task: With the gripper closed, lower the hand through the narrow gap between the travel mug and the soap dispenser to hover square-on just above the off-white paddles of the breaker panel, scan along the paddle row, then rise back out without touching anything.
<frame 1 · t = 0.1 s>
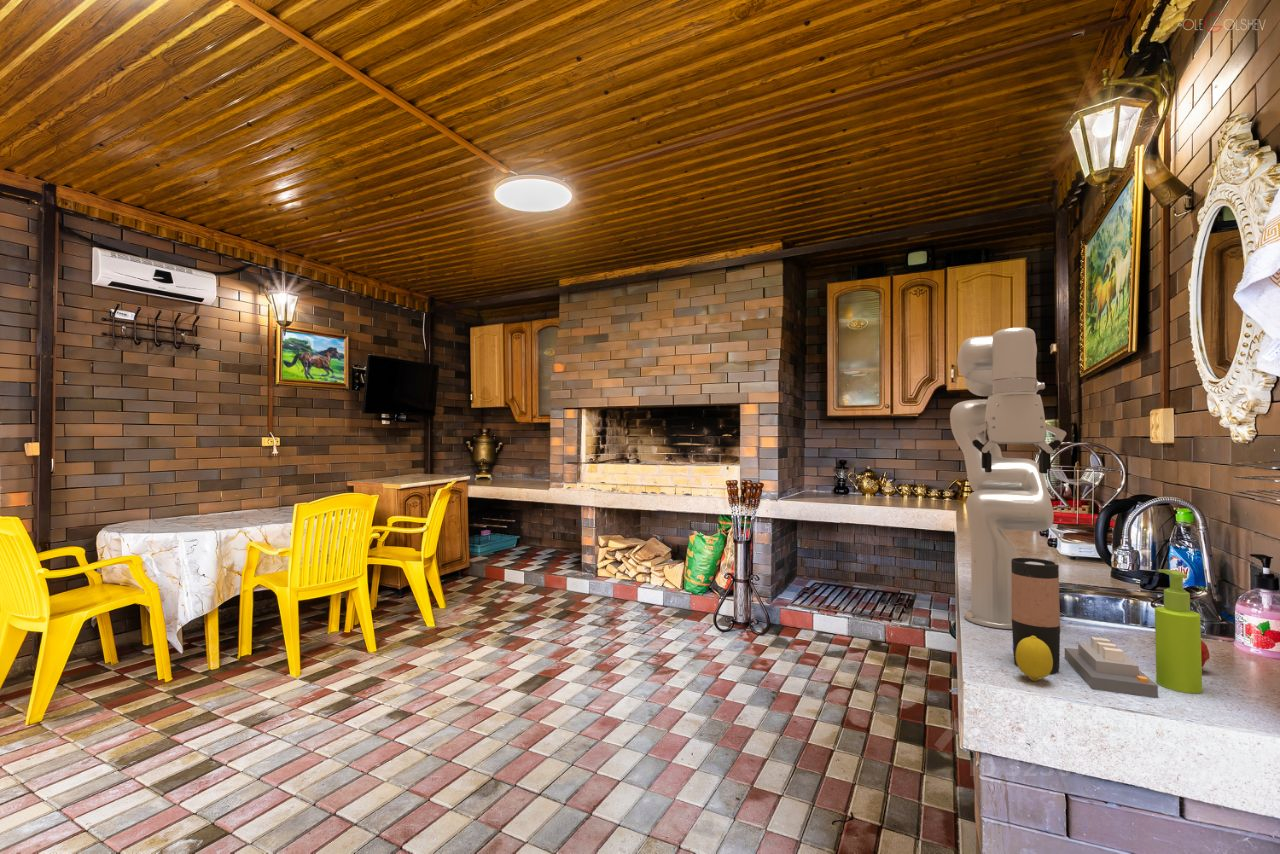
hand: (1015, 472, 117), 37 cm above the countertop, tool pointing down, fingers open, 9 cm apart
soap dispenser: (1177, 686, 101), on the countertop
breaker panel: (1107, 676, 105), on the countertop
travel mug: (1036, 668, 110), on the countertop
lemon: (1034, 682, 103), on the countertop
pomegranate: (1183, 669, 110), on the countertop
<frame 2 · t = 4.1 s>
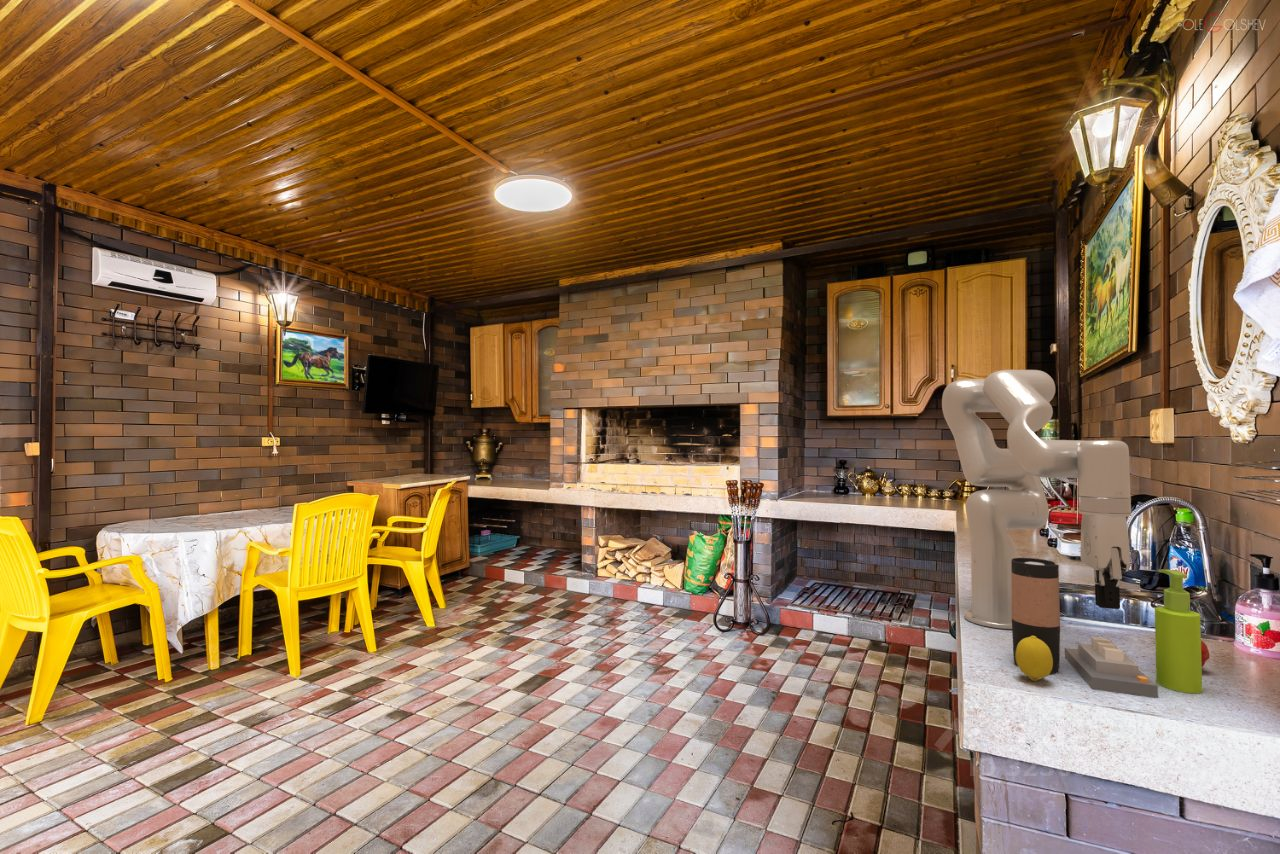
hand: (1107, 607, 105), 13 cm above the countertop, tool pointing down, fingers closed
nothing on the countertop moved.
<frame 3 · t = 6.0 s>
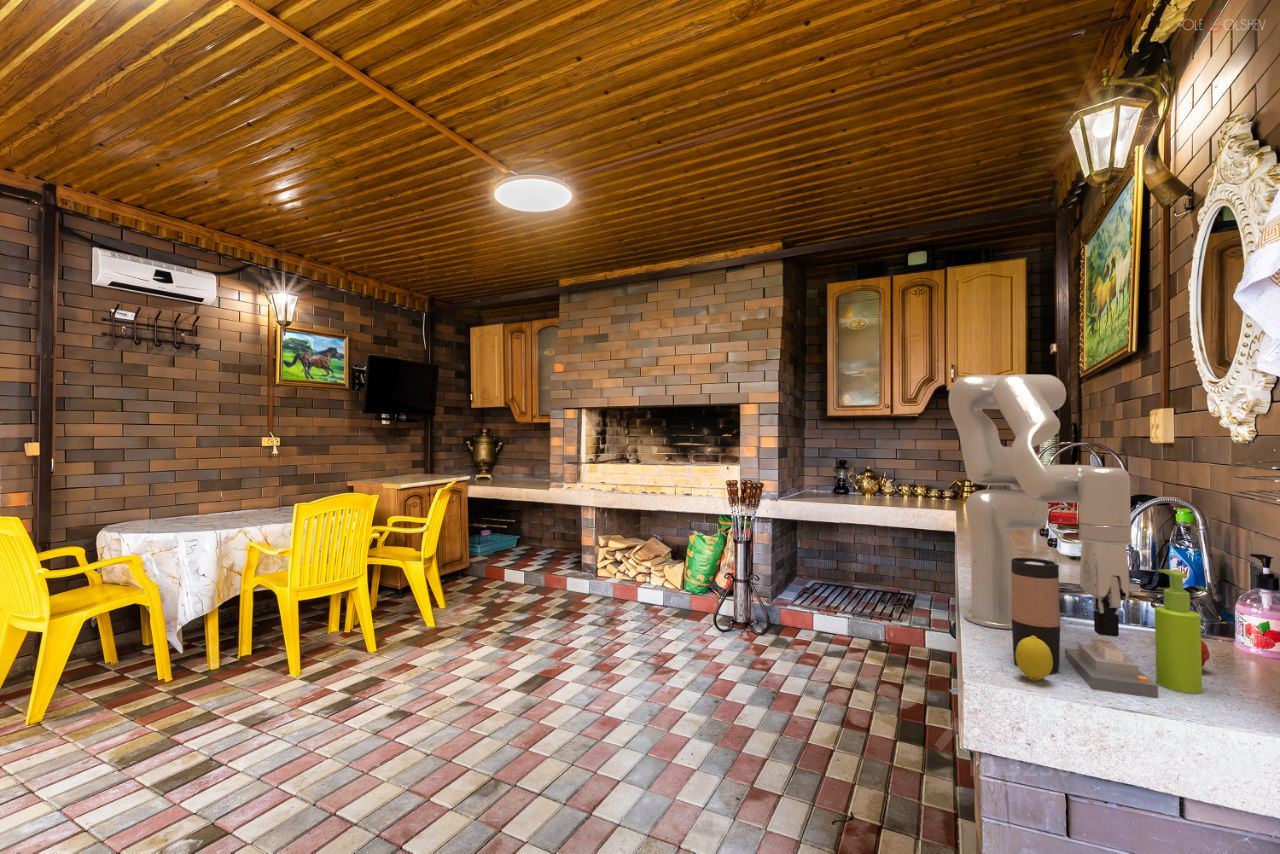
hand: (1106, 634, 106), 8 cm above the countertop, tool pointing down, fingers closed
nothing on the countertop moved.
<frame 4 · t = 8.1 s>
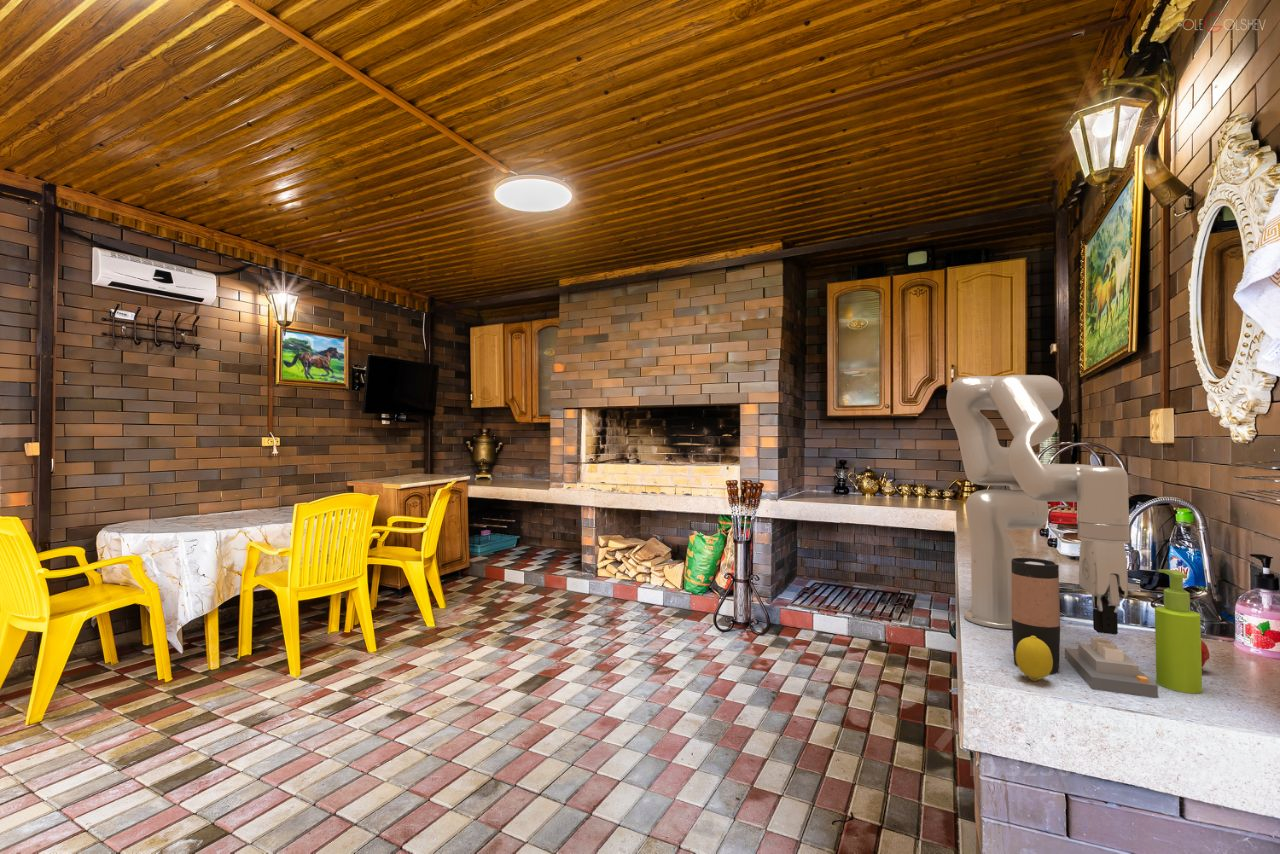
hand: (1105, 632, 106), 8 cm above the countertop, tool pointing down, fingers closed
nothing on the countertop moved.
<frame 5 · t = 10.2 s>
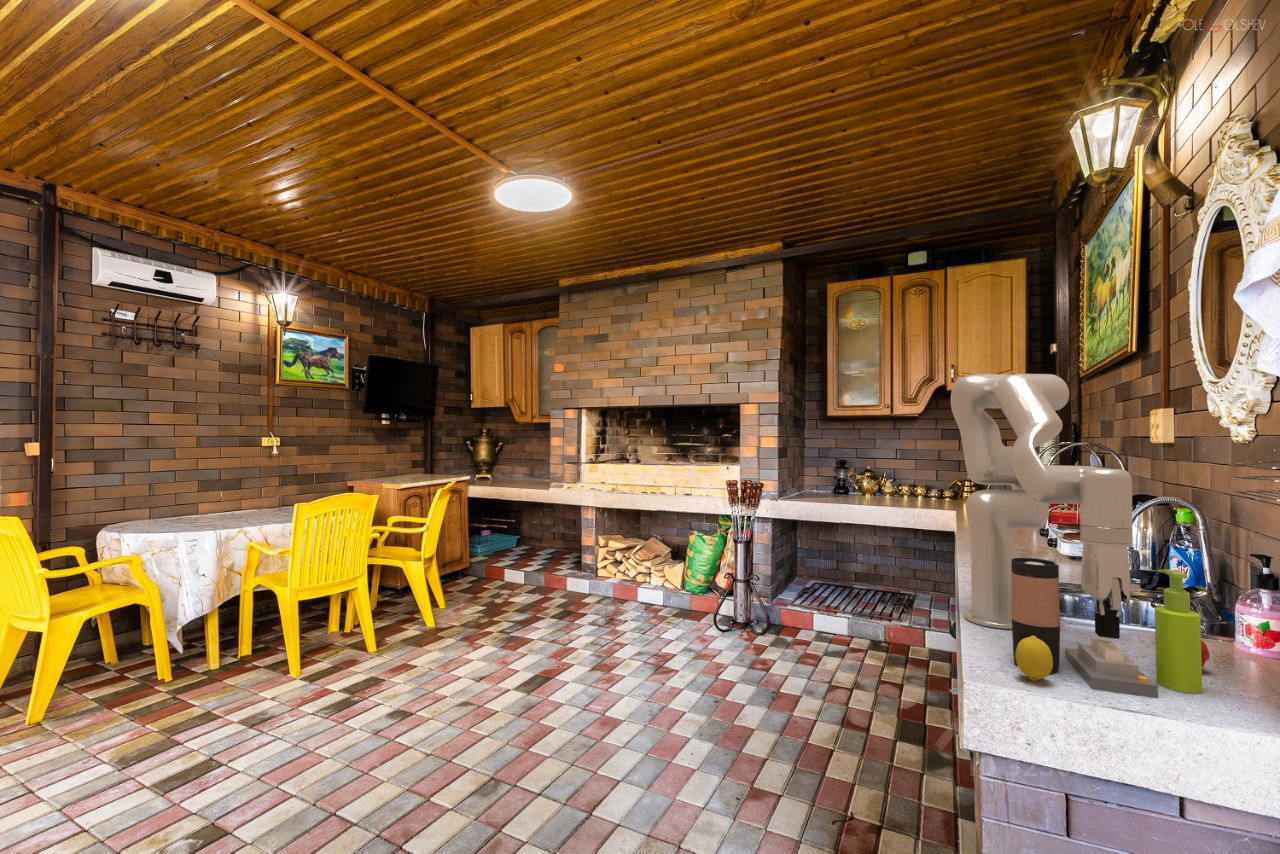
hand: (1107, 636, 105), 7 cm above the countertop, tool pointing down, fingers closed
nothing on the countertop moved.
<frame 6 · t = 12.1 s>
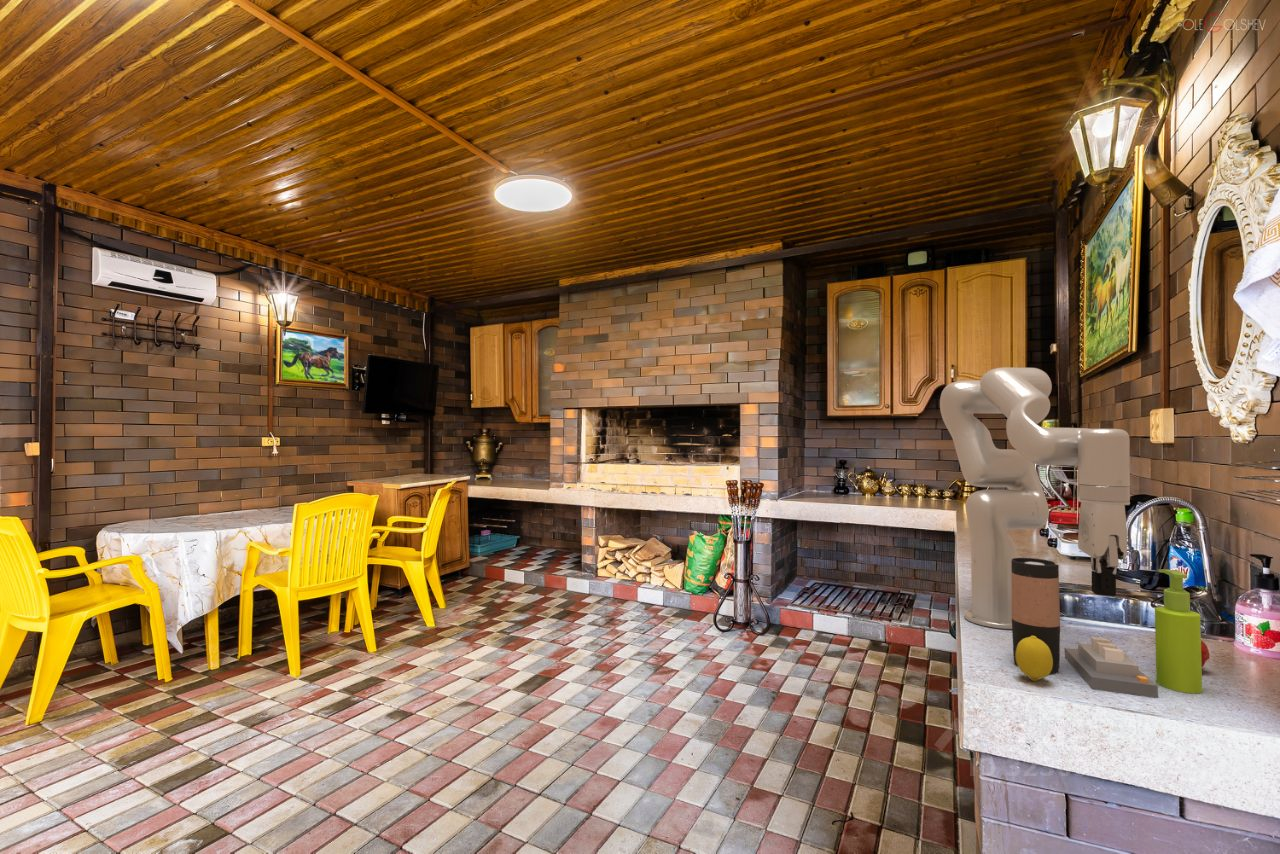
hand: (1103, 594, 106), 15 cm above the countertop, tool pointing down, fingers closed
nothing on the countertop moved.
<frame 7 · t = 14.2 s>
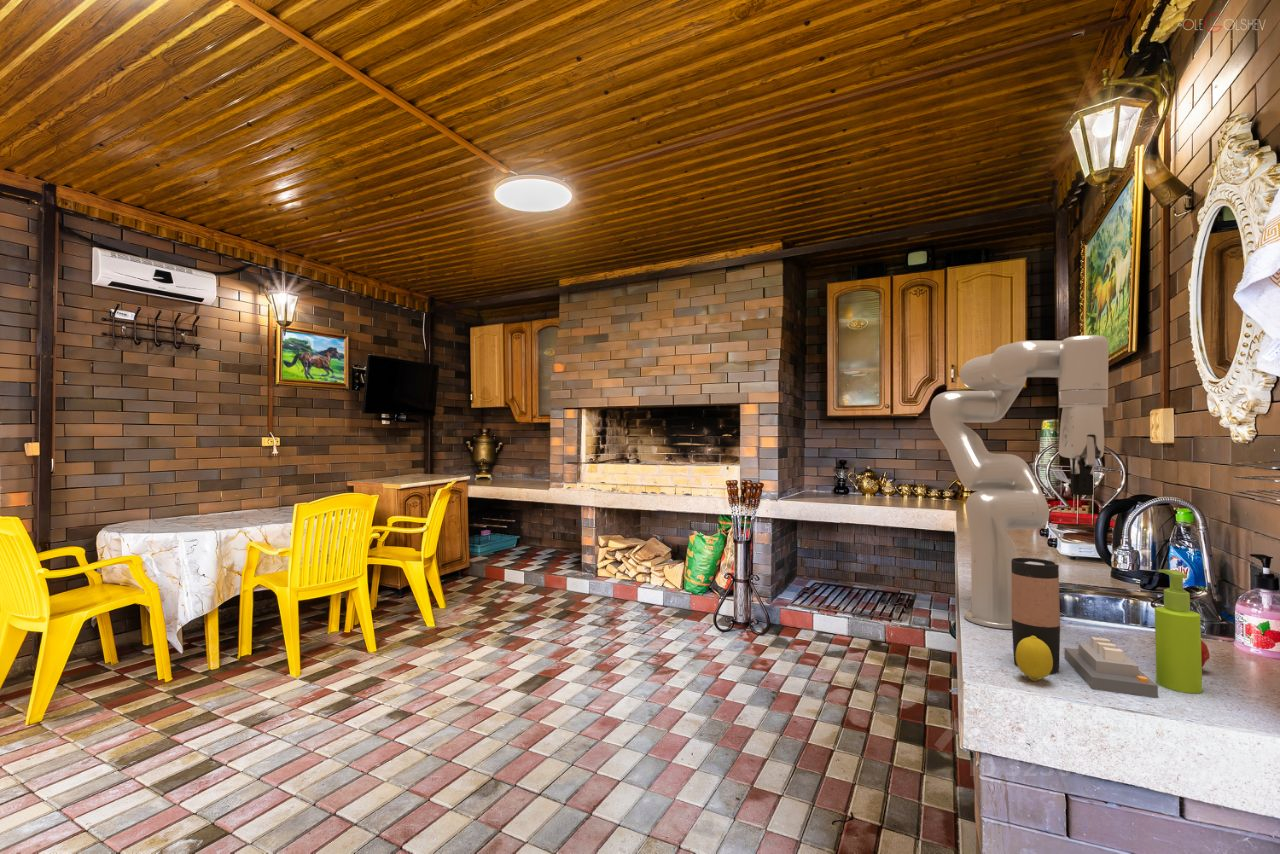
hand: (1081, 494, 111), 33 cm above the countertop, tool pointing down, fingers closed
nothing on the countertop moved.
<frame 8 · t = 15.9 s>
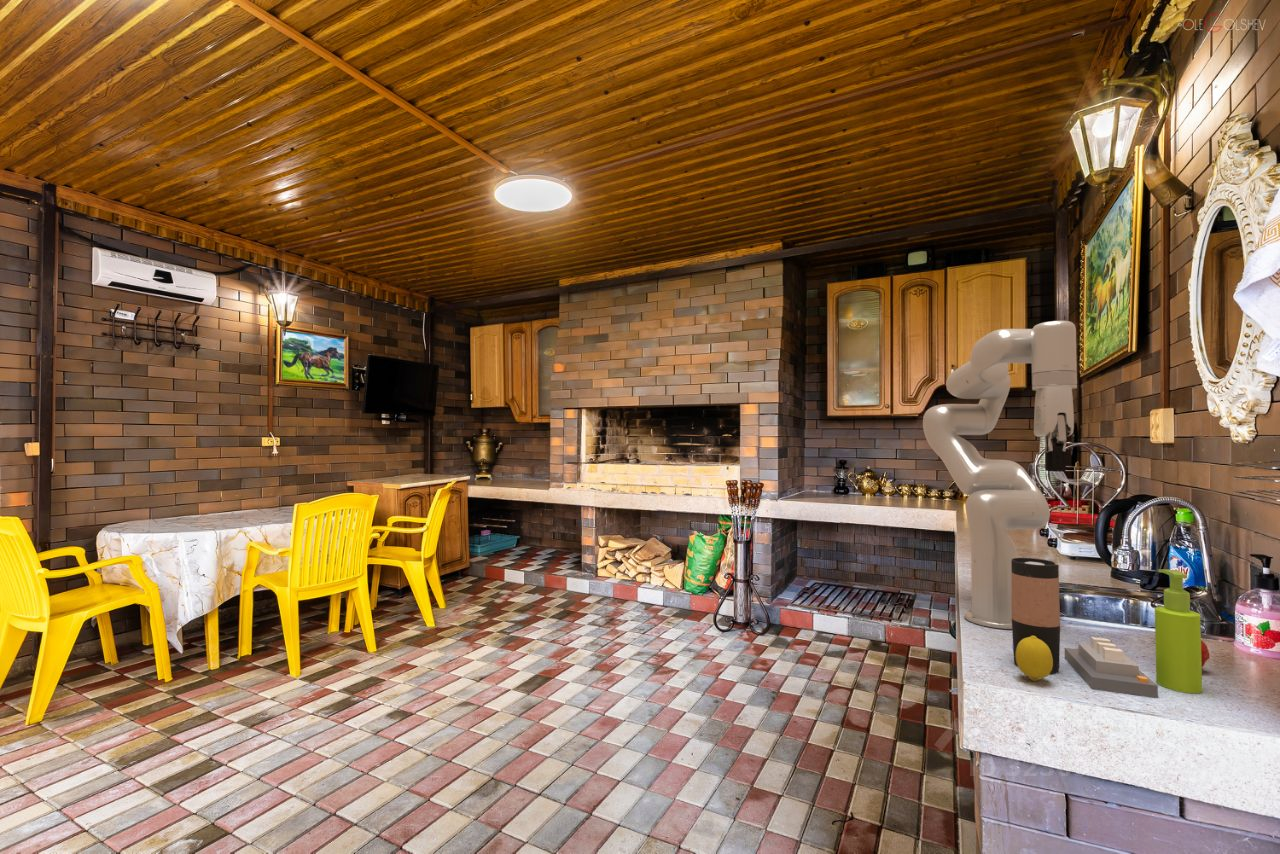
hand: (1055, 471, 118), 37 cm above the countertop, tool pointing down, fingers closed
nothing on the countertop moved.
at the end: travel mug moved 0.2 cm from its start; soap dispenser moved 0.2 cm from its start; soap dispenser tilted 0° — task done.
